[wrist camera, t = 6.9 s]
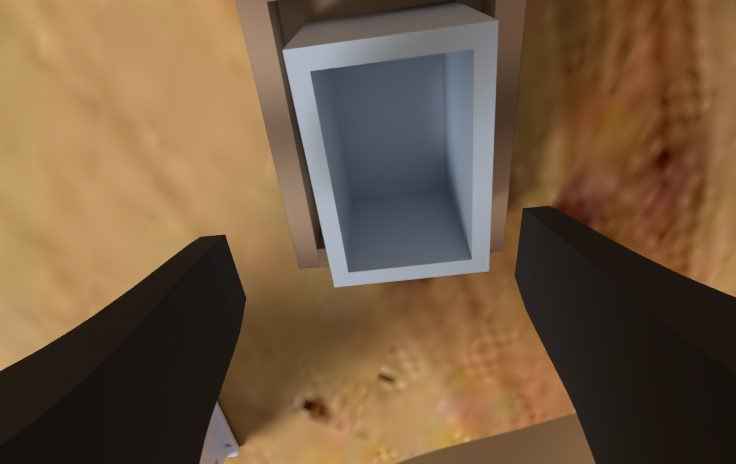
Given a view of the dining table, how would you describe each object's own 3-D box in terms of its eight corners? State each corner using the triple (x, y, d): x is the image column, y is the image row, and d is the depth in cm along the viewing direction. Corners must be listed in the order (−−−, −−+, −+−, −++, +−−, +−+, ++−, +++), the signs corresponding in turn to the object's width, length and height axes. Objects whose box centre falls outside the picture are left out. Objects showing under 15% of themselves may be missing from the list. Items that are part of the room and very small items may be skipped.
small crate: (456, 192, 20) (488, 271, 15) (341, 205, 20) (334, 287, 15) (454, 0, 16) (498, 20, 11) (307, 21, 16) (281, 50, 11)
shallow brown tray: (489, 222, 22) (503, 251, 19) (305, 239, 22) (299, 268, 20) (508, -63, 15) (532, -66, 13) (246, -32, 15) (228, -31, 13)
